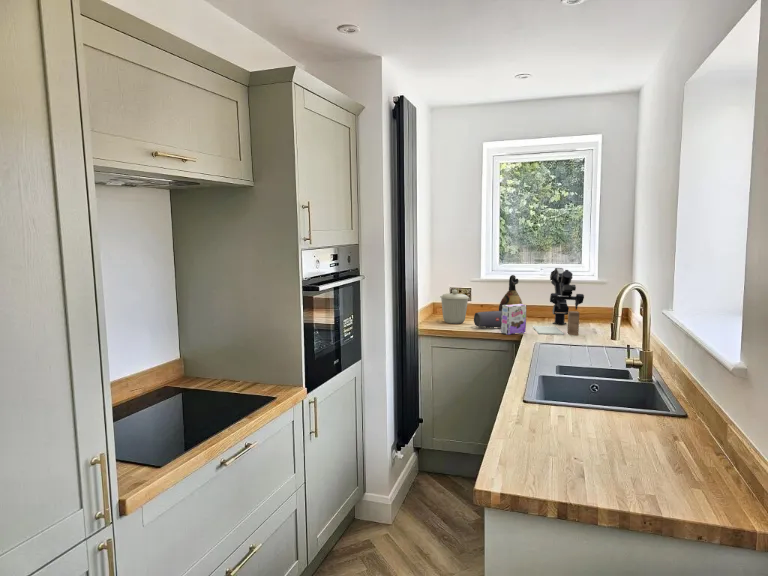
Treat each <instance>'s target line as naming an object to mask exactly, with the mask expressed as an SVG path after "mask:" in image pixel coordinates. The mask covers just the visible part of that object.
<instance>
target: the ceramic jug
mask: <svg viewBox="0 0 768 576" xmlns="http://www.w3.org/2000/svg"><path fill="white" fill-rule="evenodd" d="M518 284H519V278H517V276H515V274H511V275H510V276H509V279H508V291H507V292H506V293H505V294H504V295H503V297H502V299H501V300H500V303H499V306H498V311H502V305H513V304H523V301H522V299H521V297H520V295H519V293H518V291H517V289H516V285H518ZM523 305H524V304H523Z"/></svg>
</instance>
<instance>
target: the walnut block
mask: <svg viewBox="0 0 768 576" xmlns="http://www.w3.org/2000/svg"><path fill="white" fill-rule="evenodd" d="M579 327H580V312H579V311H577V310H576V311H573V310H572V311H571V310H568V315H567V333H568V334H567V335H569V336H579V333H580V332H579Z"/></svg>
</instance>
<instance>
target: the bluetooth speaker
mask: <svg viewBox="0 0 768 576" xmlns="http://www.w3.org/2000/svg"><path fill="white" fill-rule="evenodd" d="M501 318H502V311H499V310H490V311H478V312H475V313H474V316H473V323H474V326H476V327H481V328H482V327H483V328H484V327H486V328H485V329H495V328H494V327H501Z"/></svg>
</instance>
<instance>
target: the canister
mask: <svg viewBox="0 0 768 576" xmlns="http://www.w3.org/2000/svg"><path fill="white" fill-rule="evenodd" d="M439 298H441V308H442V309H441V310H442V319H443V321H444V322H445V323H447V324H454V325H455V324H462V323H464V322H465V320H466V316H467V315H466V314H467V308H468V301H469V299H470V297H469V296H468V295H466V294H463V293H459V292H458V290H457V289H452V290H451V292H450V293H444V294H442V295H441V296H440V297H439Z"/></svg>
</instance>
